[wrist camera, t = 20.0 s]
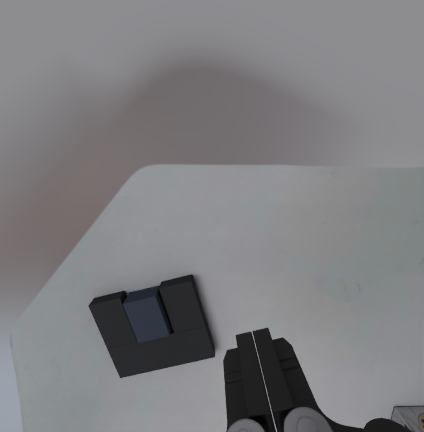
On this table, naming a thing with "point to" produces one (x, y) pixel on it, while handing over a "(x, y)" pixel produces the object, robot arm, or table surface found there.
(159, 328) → the small block
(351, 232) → the table surface
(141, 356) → the black notched square slab
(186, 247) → the table surface
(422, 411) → the coffee box
